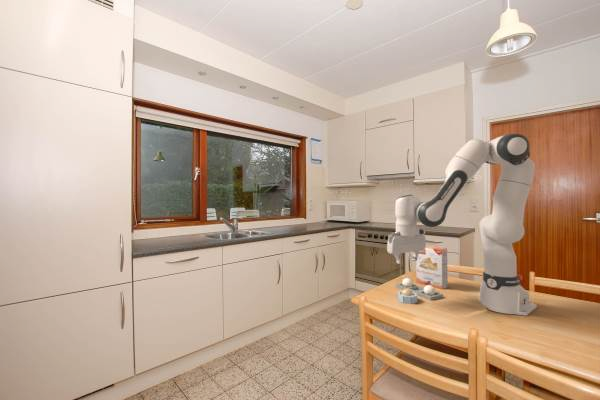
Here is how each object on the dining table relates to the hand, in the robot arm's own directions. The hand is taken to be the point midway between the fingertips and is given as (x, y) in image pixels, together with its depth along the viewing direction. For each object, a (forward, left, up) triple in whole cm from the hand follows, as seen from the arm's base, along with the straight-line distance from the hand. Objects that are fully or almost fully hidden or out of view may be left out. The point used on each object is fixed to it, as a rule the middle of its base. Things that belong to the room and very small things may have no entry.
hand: (407, 262), depth 121 cm
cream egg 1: (-13, -12, -17) cm, 25 cm away
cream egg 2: (-13, +1, -17) cm, 21 cm away
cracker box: (-28, -10, -18) cm, 35 cm away
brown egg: (0, 0, -17) cm, 17 cm away
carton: (-13, -6, -18) cm, 23 cm away
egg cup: (0, 0, -18) cm, 18 cm away
